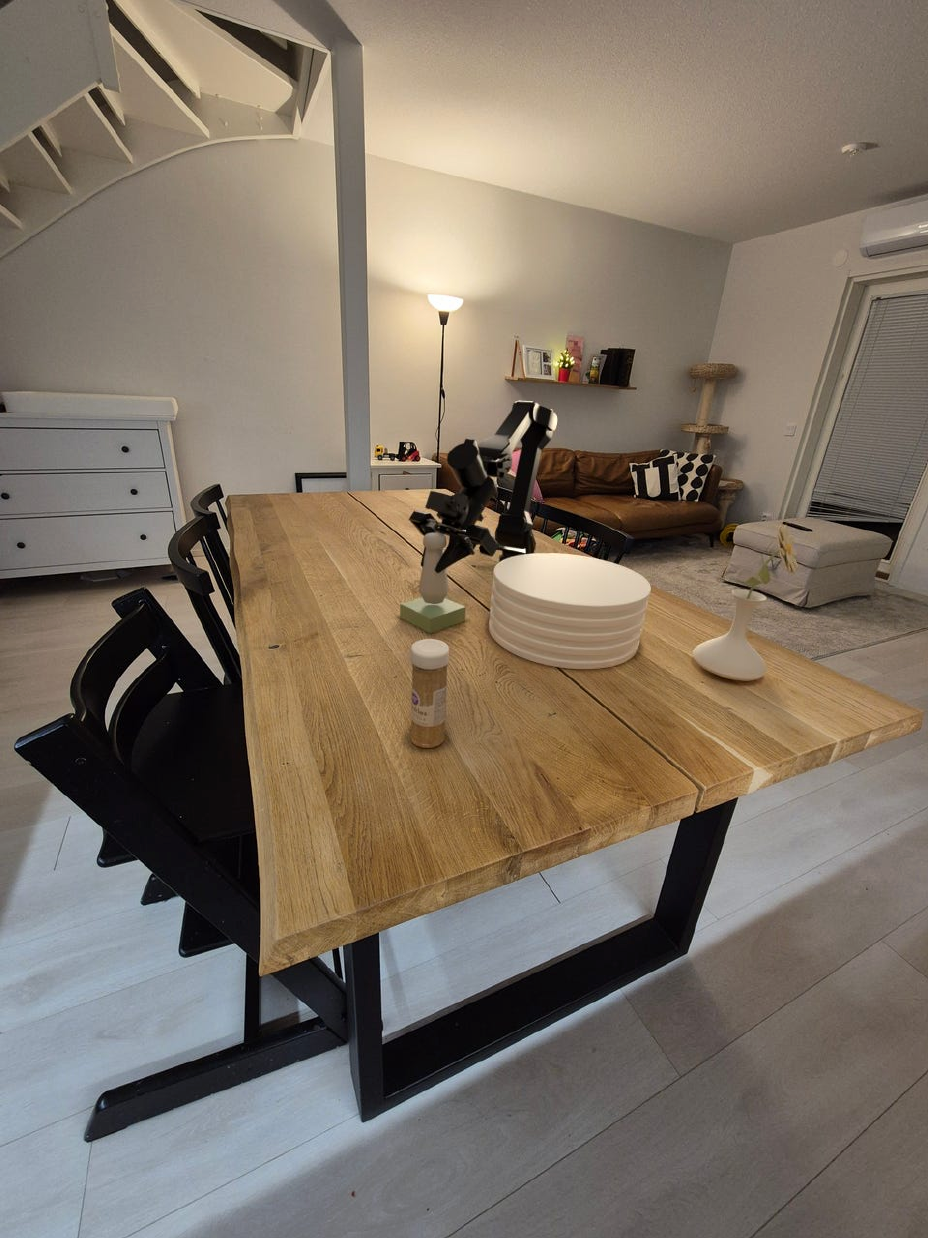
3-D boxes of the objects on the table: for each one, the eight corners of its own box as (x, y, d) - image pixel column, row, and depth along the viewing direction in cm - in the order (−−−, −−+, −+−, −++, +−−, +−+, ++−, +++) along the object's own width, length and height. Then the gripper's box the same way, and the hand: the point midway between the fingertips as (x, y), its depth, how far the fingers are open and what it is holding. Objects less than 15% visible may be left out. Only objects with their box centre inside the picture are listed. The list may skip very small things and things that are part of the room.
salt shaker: (450, 595, 99) (452, 531, 94) (446, 607, 94) (449, 539, 89) (421, 593, 100) (422, 529, 94) (416, 604, 95) (416, 537, 89)
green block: (434, 606, 104) (435, 593, 103) (464, 621, 98) (465, 607, 97) (400, 617, 98) (400, 603, 97) (430, 633, 93) (430, 618, 91)
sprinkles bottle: (402, 738, 64) (402, 645, 59) (427, 723, 68) (429, 634, 62) (428, 755, 62) (430, 659, 56) (452, 738, 65) (457, 646, 59)
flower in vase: (733, 693, 79) (784, 538, 68) (676, 660, 88) (712, 519, 77) (784, 677, 84) (837, 531, 74) (725, 647, 93) (765, 514, 83)
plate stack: (646, 622, 102) (658, 568, 98) (625, 686, 79) (640, 620, 74) (517, 594, 113) (522, 545, 108) (464, 644, 89) (468, 583, 85)
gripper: (415, 467, 95) (371, 534, 92) (492, 482, 84) (445, 558, 81) (443, 503, 104) (404, 565, 101) (515, 521, 93) (474, 591, 90)
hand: (429, 569), depth 93 cm, fingers closed on salt shaker, 3 cm apart
